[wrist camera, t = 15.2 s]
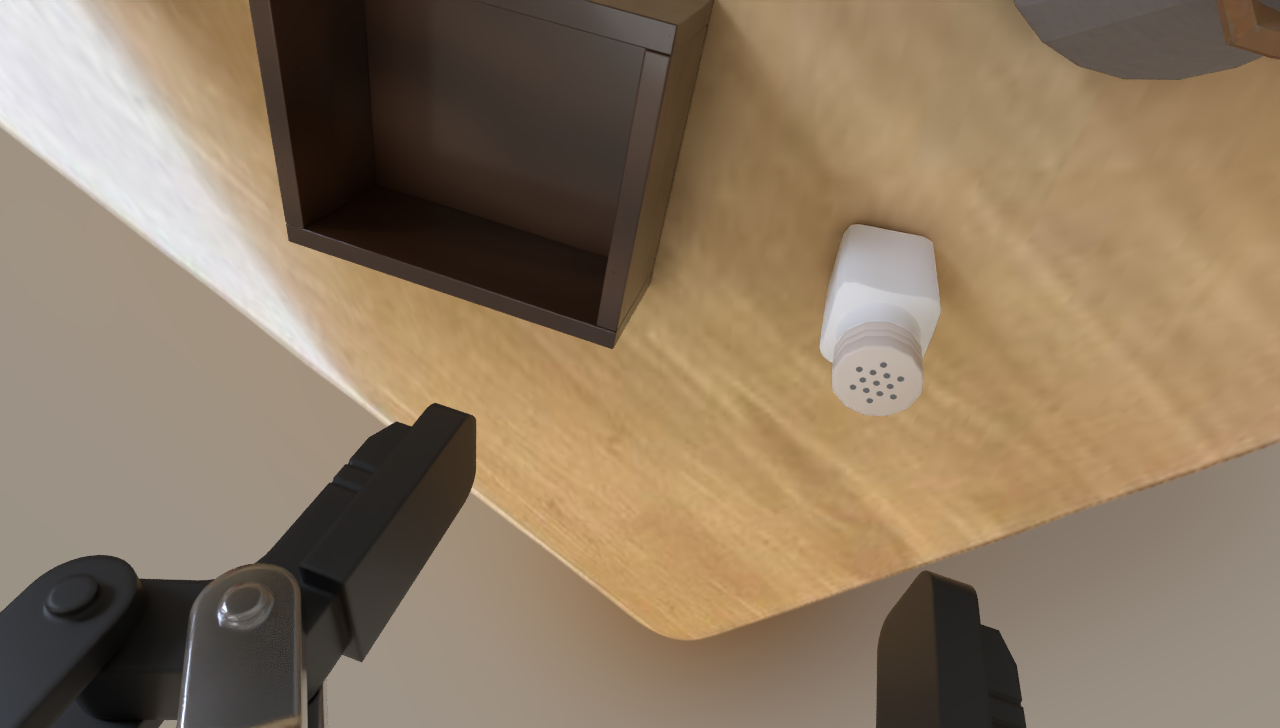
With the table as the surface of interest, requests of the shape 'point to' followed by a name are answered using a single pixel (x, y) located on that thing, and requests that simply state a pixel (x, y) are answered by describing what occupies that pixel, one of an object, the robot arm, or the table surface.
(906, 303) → the pepper shaker
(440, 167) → the box
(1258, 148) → the table surface
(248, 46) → the table surface
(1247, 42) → the coffee pot
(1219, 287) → the table surface
